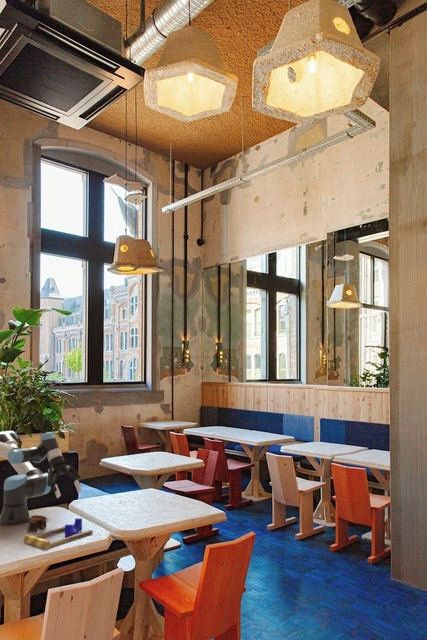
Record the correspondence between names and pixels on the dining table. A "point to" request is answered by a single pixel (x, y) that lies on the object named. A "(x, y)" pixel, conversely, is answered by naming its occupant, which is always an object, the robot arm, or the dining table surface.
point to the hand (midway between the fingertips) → (69, 494)
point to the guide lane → (47, 544)
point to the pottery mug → (37, 523)
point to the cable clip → (73, 527)
